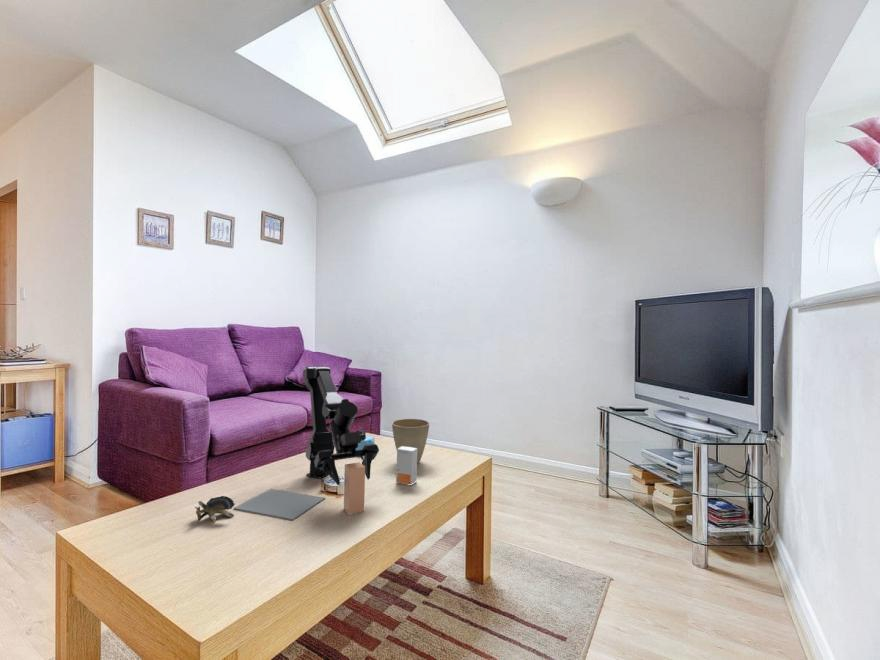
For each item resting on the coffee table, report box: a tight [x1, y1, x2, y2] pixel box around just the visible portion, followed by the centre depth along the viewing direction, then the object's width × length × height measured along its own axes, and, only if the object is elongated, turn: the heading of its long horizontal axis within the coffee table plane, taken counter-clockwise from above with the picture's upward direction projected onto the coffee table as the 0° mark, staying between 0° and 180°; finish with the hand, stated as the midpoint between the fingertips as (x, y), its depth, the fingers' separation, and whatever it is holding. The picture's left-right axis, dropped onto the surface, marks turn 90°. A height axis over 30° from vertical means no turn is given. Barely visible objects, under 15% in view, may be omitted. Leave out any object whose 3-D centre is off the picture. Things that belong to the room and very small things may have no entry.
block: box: [343, 462, 366, 515], centre depth 126 cm, size 4×4×13 cm
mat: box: [233, 488, 326, 521], centre depth 129 cm, size 16×20×1 cm
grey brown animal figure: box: [195, 495, 236, 524], centre depth 118 cm, size 8×7×9 cm
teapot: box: [356, 435, 375, 451], centre depth 183 cm, size 12×6×8 cm, turn 64°
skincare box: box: [395, 446, 418, 485], centre depth 149 cm, size 6×4×12 cm
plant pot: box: [391, 418, 430, 463], centre depth 171 cm, size 15×15×16 cm
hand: (354, 481), depth 126 cm, fingers open, 9 cm apart
